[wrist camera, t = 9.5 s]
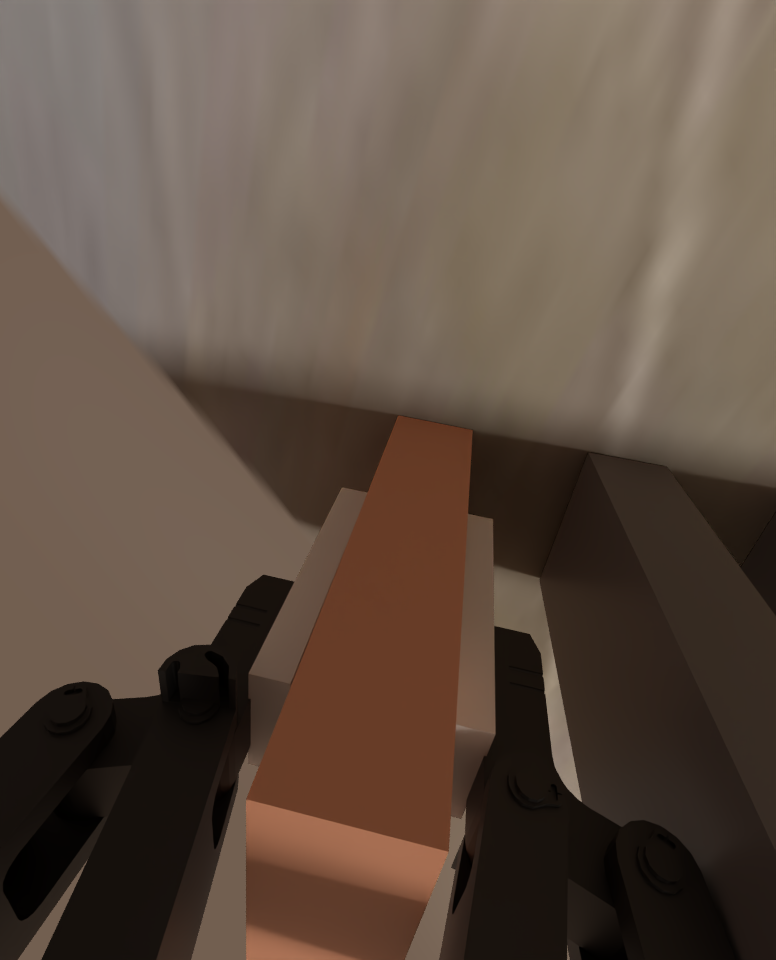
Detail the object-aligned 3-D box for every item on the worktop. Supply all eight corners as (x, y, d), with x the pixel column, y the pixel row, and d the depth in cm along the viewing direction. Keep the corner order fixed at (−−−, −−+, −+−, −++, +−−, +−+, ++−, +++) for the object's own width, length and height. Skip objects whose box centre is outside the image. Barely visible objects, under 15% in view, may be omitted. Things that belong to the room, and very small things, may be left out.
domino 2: (539, 580, 18) (636, 1086, 8) (588, 452, 16) (826, 959, 5) (606, 593, 18) (793, 1122, 8) (666, 466, 16) (1063, 1011, 5)
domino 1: (377, 544, 19) (246, 966, 9) (398, 415, 16) (246, 799, 6) (441, 558, 19) (385, 1006, 8) (472, 430, 16) (448, 851, 6)
